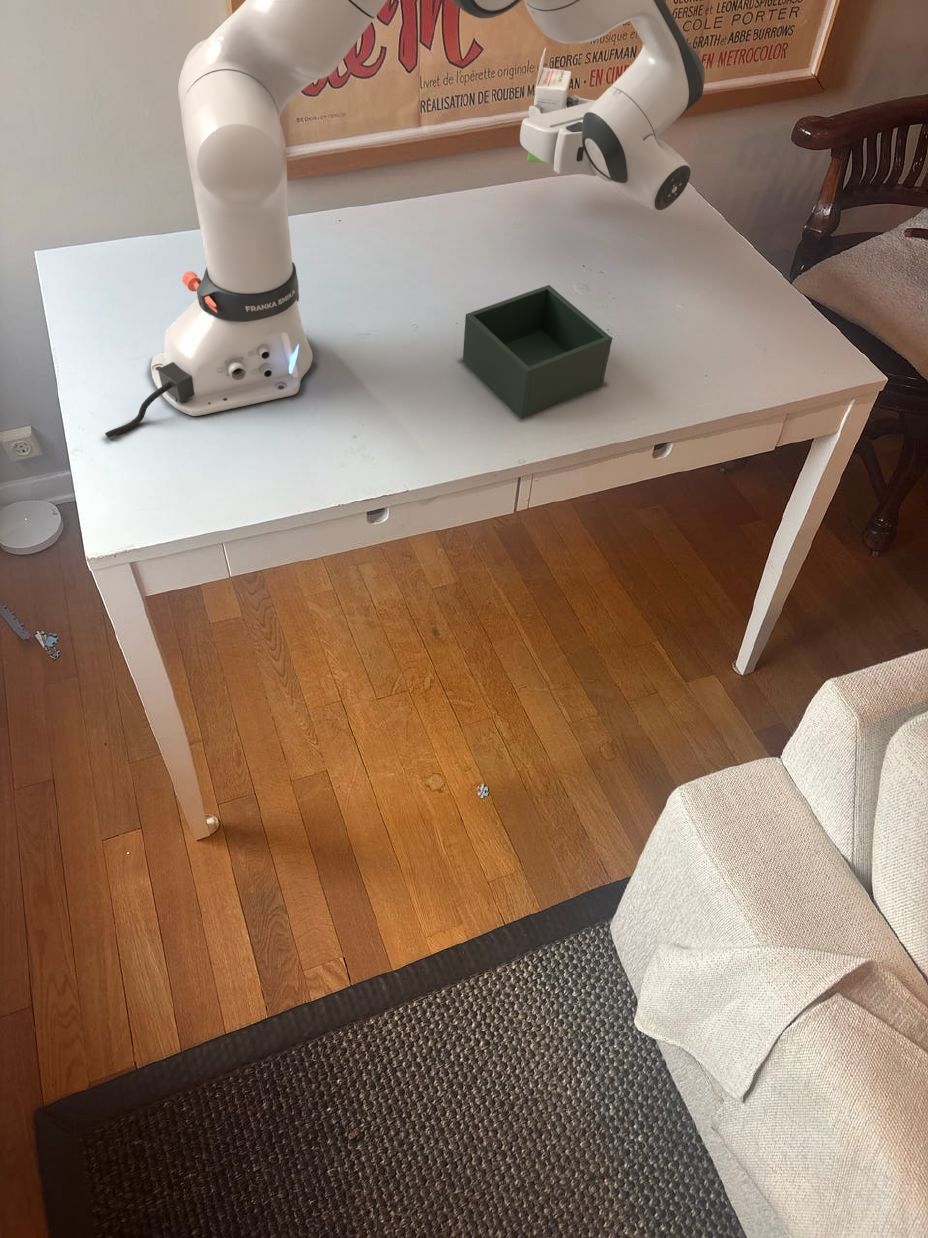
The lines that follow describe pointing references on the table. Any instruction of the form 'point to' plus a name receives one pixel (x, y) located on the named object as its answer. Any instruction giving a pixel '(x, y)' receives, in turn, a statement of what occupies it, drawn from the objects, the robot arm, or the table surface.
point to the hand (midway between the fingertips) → (551, 104)
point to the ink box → (550, 93)
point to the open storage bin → (535, 350)
